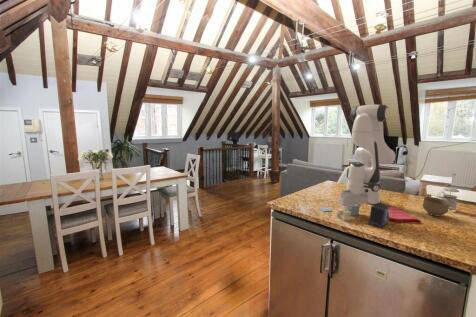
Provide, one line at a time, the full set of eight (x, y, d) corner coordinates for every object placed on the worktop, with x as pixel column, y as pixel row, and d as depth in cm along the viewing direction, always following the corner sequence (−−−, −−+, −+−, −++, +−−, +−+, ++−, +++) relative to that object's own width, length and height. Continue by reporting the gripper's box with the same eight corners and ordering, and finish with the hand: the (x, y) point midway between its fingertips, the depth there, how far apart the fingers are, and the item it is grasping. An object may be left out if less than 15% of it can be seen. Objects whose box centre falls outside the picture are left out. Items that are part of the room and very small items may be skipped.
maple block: (336, 217, 138) (337, 209, 137) (343, 216, 140) (344, 208, 139) (343, 221, 134) (344, 212, 133) (350, 219, 135) (351, 211, 135)
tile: (318, 208, 152) (318, 207, 152) (327, 208, 153) (327, 207, 153) (322, 211, 147) (322, 210, 146) (331, 211, 147) (332, 210, 147)
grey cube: (345, 212, 147) (346, 204, 146) (353, 212, 148) (354, 204, 147) (350, 215, 142) (351, 207, 141) (358, 215, 143) (359, 207, 142)
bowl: (437, 220, 140) (440, 203, 138) (416, 212, 152) (418, 197, 150) (453, 218, 143) (455, 202, 141) (431, 210, 155) (433, 196, 154)
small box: (381, 228, 125) (383, 209, 124) (368, 224, 130) (370, 205, 129) (388, 223, 132) (391, 205, 130) (376, 219, 137) (378, 202, 135)
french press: (461, 213, 153) (468, 175, 149) (440, 211, 155) (447, 174, 151) (451, 208, 162) (457, 172, 158) (431, 206, 164) (437, 171, 161)
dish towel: (390, 222, 134) (391, 218, 134) (369, 208, 158) (370, 204, 157) (421, 224, 134) (422, 220, 133) (396, 209, 157) (396, 205, 157)
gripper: (345, 191, 136) (343, 214, 138) (371, 189, 143) (368, 211, 145) (337, 189, 142) (335, 211, 144) (362, 186, 149) (360, 207, 151)
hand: (352, 211), depth 145 cm, fingers closed on grey cube, 5 cm apart
